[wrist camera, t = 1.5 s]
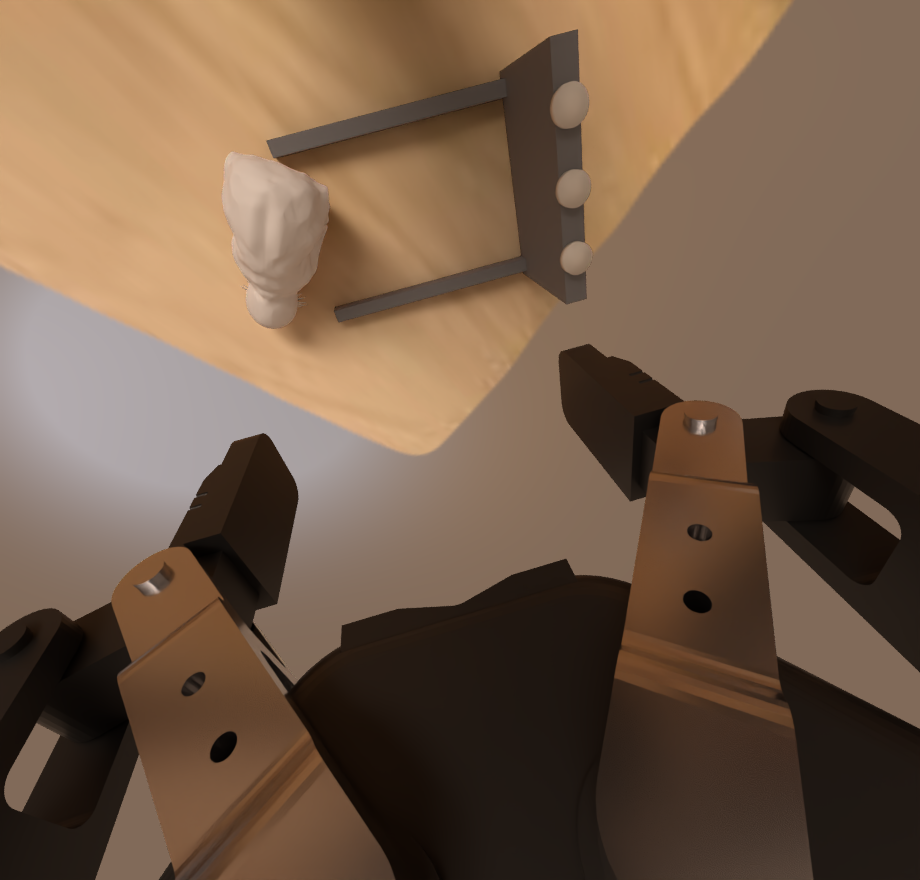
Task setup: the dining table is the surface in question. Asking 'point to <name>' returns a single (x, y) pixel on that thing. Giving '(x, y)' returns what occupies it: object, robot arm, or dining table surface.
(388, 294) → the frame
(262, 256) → the cream figurine
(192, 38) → the dining table surface
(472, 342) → the dining table surface
